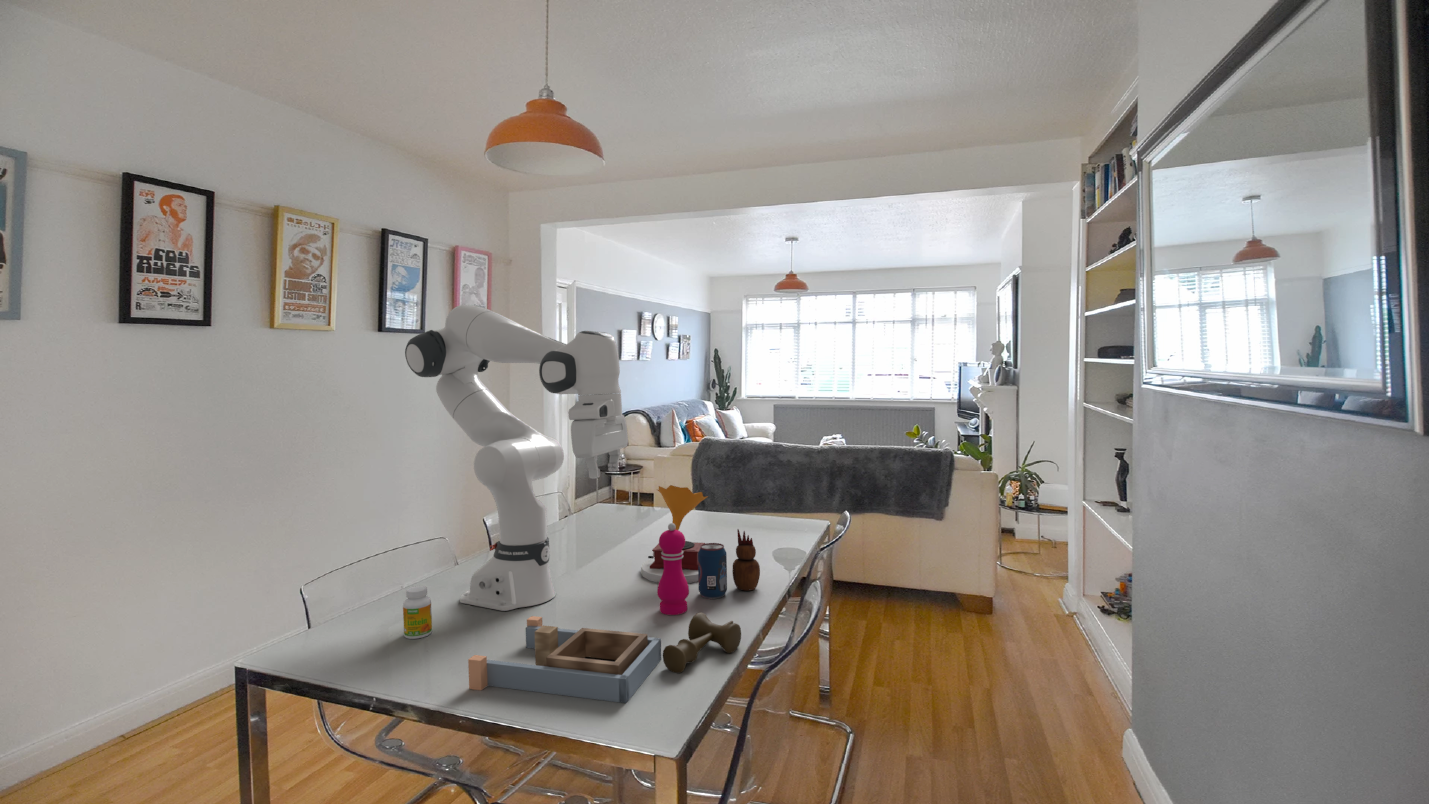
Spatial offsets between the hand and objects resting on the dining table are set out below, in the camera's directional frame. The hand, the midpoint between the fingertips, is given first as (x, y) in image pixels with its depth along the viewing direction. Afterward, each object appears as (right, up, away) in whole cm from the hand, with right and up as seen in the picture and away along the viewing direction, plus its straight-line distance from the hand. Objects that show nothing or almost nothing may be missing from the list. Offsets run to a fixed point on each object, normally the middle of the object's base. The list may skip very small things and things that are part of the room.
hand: (604, 474), depth 135 cm
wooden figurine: (+31, -32, +26) cm, 51 cm away
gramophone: (+13, -31, +41) cm, 54 cm away
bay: (-3, -34, -17) cm, 38 cm away
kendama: (+21, -34, -10) cm, 41 cm away
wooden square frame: (0, -34, -18) cm, 38 cm away
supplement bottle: (-39, -34, +1) cm, 52 cm away
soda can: (+23, -32, +22) cm, 45 cm away
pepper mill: (+14, -33, +12) cm, 37 cm away
